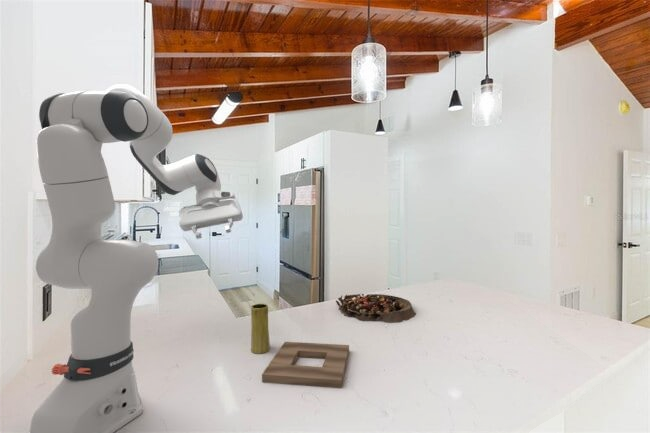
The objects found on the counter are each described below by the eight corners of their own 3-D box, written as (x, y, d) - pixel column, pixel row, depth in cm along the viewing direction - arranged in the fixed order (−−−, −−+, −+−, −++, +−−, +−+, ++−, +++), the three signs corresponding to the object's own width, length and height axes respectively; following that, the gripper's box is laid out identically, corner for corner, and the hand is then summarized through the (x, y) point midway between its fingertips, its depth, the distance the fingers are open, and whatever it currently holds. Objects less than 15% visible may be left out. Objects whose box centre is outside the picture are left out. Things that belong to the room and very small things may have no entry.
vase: (265, 354, 100) (264, 309, 100) (247, 353, 101) (246, 308, 101) (272, 346, 106) (271, 303, 106) (255, 345, 107) (254, 302, 107)
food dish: (320, 312, 145) (320, 294, 145) (370, 299, 166) (370, 284, 166) (381, 331, 118) (380, 309, 118) (431, 312, 139) (430, 294, 139)
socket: (341, 387, 81) (341, 380, 81) (262, 381, 84) (261, 374, 84) (349, 351, 102) (349, 345, 102) (285, 347, 105) (284, 341, 105)
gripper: (175, 202, 108) (177, 235, 100) (237, 191, 112) (243, 222, 104) (181, 213, 113) (183, 246, 105) (240, 202, 117) (246, 233, 109)
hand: (213, 234), depth 105 cm, fingers open, 8 cm apart
